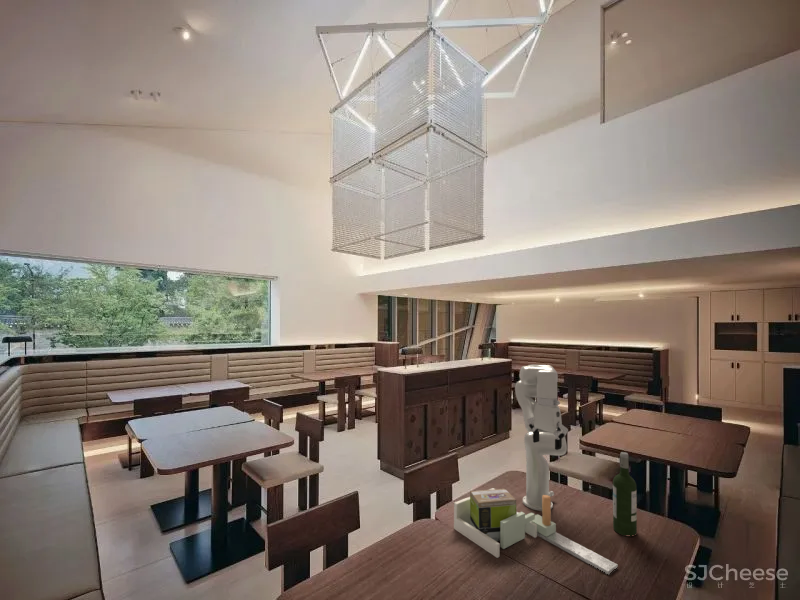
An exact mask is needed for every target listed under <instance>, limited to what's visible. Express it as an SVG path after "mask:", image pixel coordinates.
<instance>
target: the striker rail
mask: <svg viewBox="0 0 800 600" xmlns="http://www.w3.org/2000/svg"><path fill="white" fill-rule="evenodd" d="M516 513H517V514H518V513H519V512H518V511H516ZM537 537H539V538H540V539H543V540H545V541H546V542H548V543H550V544H552V545H554V546H555V547H558V549H561V550H562V551H565V552H566V553H568V554H570V555H572V556H573V557H574V558H576V559H579V560H581V561H582V562H583V563H586V564H588V565H589V564H590V565H589V566H591V565H592V566H591V567H593V566H594V567H593V568H595V569H597V568H598V569H599V570H598V569H597V570H598V571H600V570H601V572H602V571H603V572H602V573H604V572H605V573H604V574H606V575H607V574H608V576H609V575H611V574H612V573H613V572H614V571H615V570H614V569H616V568H617V567H618V564H617V562H616V563H615V562H614V561H612V560H610V559H608V558H606V557H604V556H602V555H600V554H598V553H596V552H594V551H593V550H591V549H588V548H587V547H585V546H583V545H582V544H579V543H577V542H575V541H573V540H572V539H570V538H568V537H566V536H564V535H562V534H561V533H559V532H557V531H556V532H554V533H552V534H551V535H549V536H547V537H546V536H544V535H542V534H541V533H539V532H537ZM618 568H619V567H618ZM618 568H617V569H618ZM617 569H616V570H617ZM613 570H614V571H613ZM612 571H613V572H612ZM611 572H612V573H611ZM610 573H611V574H610Z"/></svg>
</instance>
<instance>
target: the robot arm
mask: <svg viewBox="0 0 800 600" xmlns="http://www.w3.org/2000/svg"><path fill="white" fill-rule="evenodd" d="M558 377H559V376H558V371H557V370H556V369H555V368H554V367H553V366H552V365H549V364H547V365H546V364H528V365H523V366H521V367H520V370H519V378H520V379H519V380H518V381H516V382H515V388H514V390H515V391H514V392H515V393H514V394H515V397H516V400H517V402H518V404H519V406H520V408H521V411H522V415H523V416H522V417H523V422H524V426H525V430H526V431H527V433H525V434H524V436H523V437H524V438H523V441H524V442H523V443H524V449H525V459H526V460H525V462H526V463H525V469H526V470H525V471H526V472H525V473H526V474H525V476H526V477H525V480H526V481H525V489H526V490H525V492H526V493H525V494H526V495H524V496H523V497H522V504H523V505H524V506H526V507H527V508H529V509H531V510H534V511H539V512H542V496H543V495H548V496H550V497H551V498H552V497H553V496H555V492H554V491H553V490H550V465H549V463H548V460H547V459H546V457H544V456H547V455H548V456H564V455H565V454H566V453H567V450H568V449H567V448H568V447H567V446H568V445H567V441H566V436H567V433H568V432H569V429H568V428H567V427H566V426H564V424H562V423H563V422H562V414H561V409H560V406H559V405H560V404H561V401H559V400H558V379H559V378H558ZM533 398H536V401H535V400H534V399H533ZM553 505H554V504H553V501H551V510H552V509H553V507H554V506H553Z"/></svg>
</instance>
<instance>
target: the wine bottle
mask: <svg viewBox="0 0 800 600" xmlns="http://www.w3.org/2000/svg"><path fill="white" fill-rule="evenodd" d="M619 455H620V457H619V458H620V460H619V461H620V464H619V465H620V466H619V473H618V474H616V475H614V477H613V479H612V528H613V530H614V532H616V533H617V534H618V533H619V534H618V535H621V534H622V535H621V536H623V535H630V536H632V535H635V534H636V533H637V534H638V525H637V521H638V520H637V518H638V517H637V515H638V514H637V512H638V511H637V505H638V504H637V503H638V501H637V499H638V498H637V483H636V480H634V478H633V477H632V476H631V475H630V469H629V467H630V466H629V464H630V463H629V454H628V452H626V451H625V452H624V451H621V452H620V454H619ZM637 534H636V535H637Z"/></svg>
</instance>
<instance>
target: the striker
mask: <svg viewBox="0 0 800 600" xmlns="http://www.w3.org/2000/svg"><path fill="white" fill-rule="evenodd" d="M551 498H552V496H551V497H550V496H548V495H543V496H542V511H541V513H542V514H541V515H542V516H541V515H540V514H538V513H537V514H535V512H529V513H527V514H526V513H525V512H523V511H520V512H518V514H515V515H513V516H511V517H509V518H507V519H504V520H502V521H500V541H499V542H500V548H501V549H503V550H505V549H506V548H509V547H511V546H512V545H513V544H516V543H518V542H519V541H522V540H523V539H524V540H525V539H526V532H525V524H527V523H529V522H533V523H535V524H537V532H539V533H541V534H542V535H544V536H546V537H547V536H549V535H551V534H552V533H554V532H557V526H556V525H557V524H556V523H555V522H554V521H552V515H551V514H552V512H551V511H552V509H551V502H552V499H551Z"/></svg>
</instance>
